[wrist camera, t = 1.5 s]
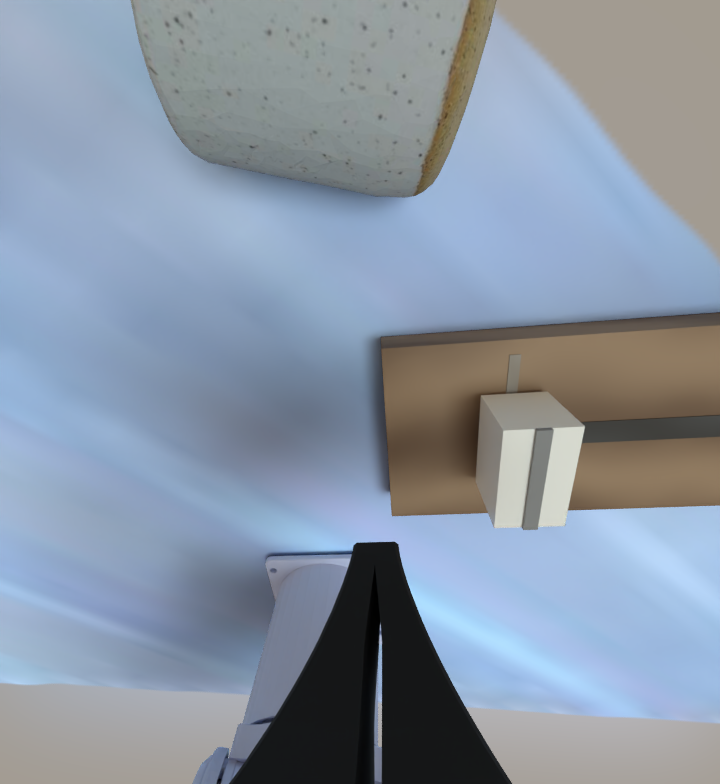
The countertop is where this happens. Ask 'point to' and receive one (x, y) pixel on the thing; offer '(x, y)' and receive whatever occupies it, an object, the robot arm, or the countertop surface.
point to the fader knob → (526, 459)
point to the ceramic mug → (317, 84)
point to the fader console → (574, 392)
